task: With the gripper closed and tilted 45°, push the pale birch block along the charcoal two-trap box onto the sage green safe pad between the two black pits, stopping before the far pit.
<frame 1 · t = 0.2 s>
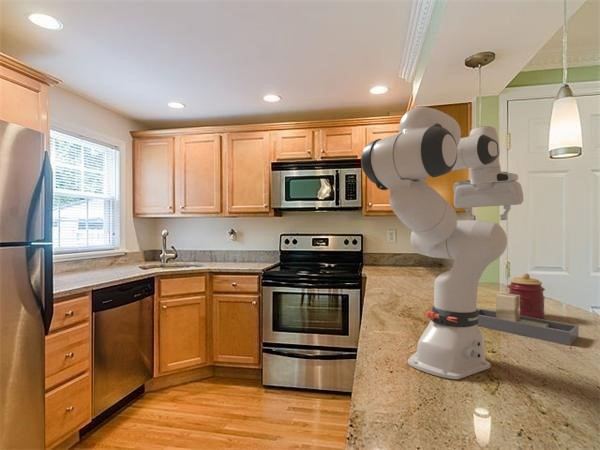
hand: (487, 220, 115), 39 cm above the counter, tool pointing down, fingers open, 8 cm apart
canister: (525, 316, 145), on the counter
trap box: (520, 330, 125), on the counter
block: (507, 319, 128), point 3 cm above the counter, touching trap box
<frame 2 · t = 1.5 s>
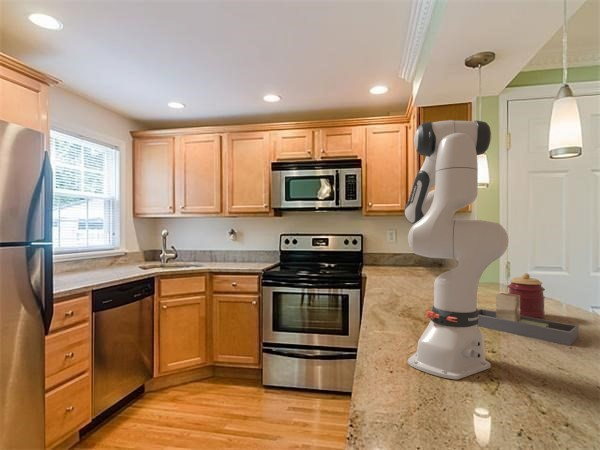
hand: (466, 253, 139), 26 cm above the counter, tool tilted 45°, fingers open, 8 cm apart
nothing on the counter moved.
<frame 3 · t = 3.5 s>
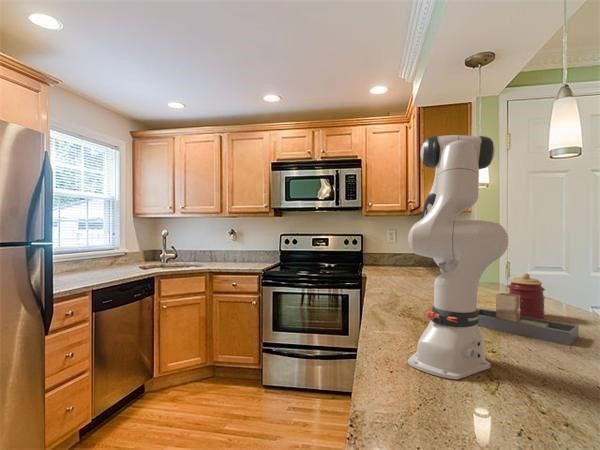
hand: (473, 288, 137), 13 cm above the counter, tool tilted 45°, fingers closed
nothing on the counter moved.
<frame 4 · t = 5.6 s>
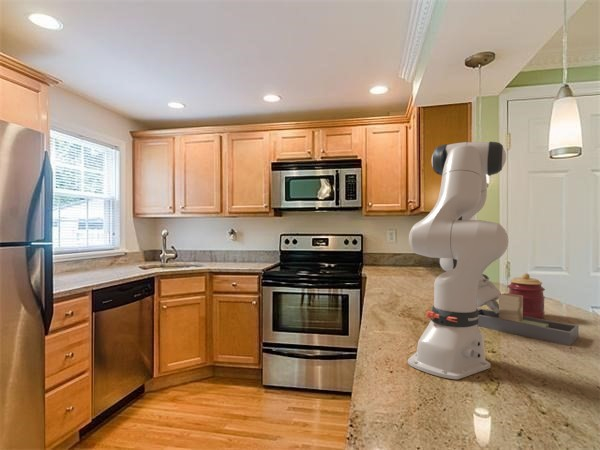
hand: (499, 312, 130), 5 cm above the counter, tool tilted 45°, fingers closed
nothing on the counter moved.
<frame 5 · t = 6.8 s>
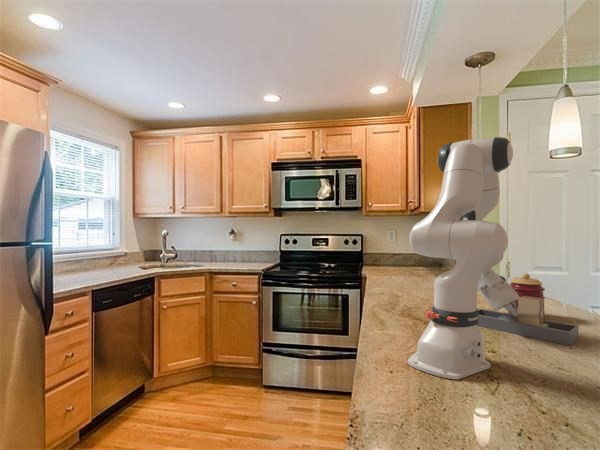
hand: (518, 315, 126), 5 cm above the counter, tool tilted 45°, fingers closed, pressing on block
block: (530, 323, 123), point 3 cm above the counter, touching gripper, trap box
everything else where it was.
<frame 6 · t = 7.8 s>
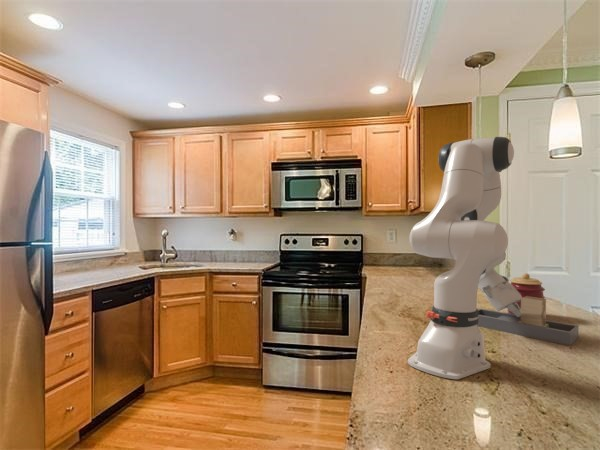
hand: (521, 315, 125), 5 cm above the counter, tool tilted 45°, fingers closed
block: (533, 324, 122), point 3 cm above the counter, touching trap box
everything else where it was.
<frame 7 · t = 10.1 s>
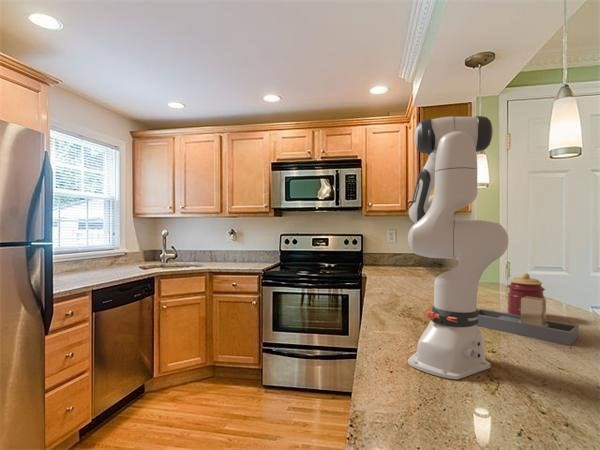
hand: (465, 259, 137), 24 cm above the counter, tool tilted 35°, fingers closed
nothing on the counter moved.
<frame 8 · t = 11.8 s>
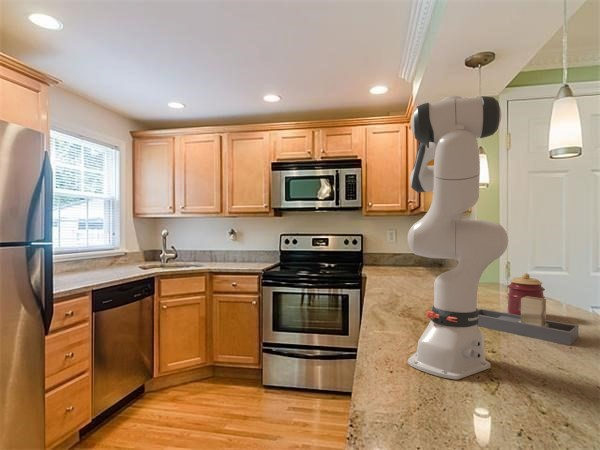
hand: (445, 236, 138), 33 cm above the counter, tool pointing down, fingers closed
nothing on the counter moved.
at the end: block 0.0 cm from the target spot on the trap box, point 3.0 cm above the trap box's base; block tilted 0°; block moved 8.0 cm from its start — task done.
